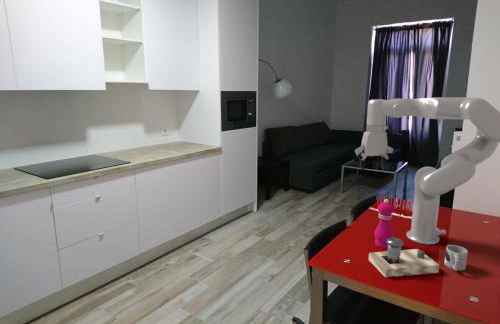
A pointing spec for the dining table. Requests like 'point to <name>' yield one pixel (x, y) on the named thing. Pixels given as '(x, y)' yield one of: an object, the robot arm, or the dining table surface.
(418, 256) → the jig
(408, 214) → the dining table surface
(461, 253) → the mug
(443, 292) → the dining table surface
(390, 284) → the dining table surface
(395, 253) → the silver domed cylinder
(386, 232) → the pepper mill
